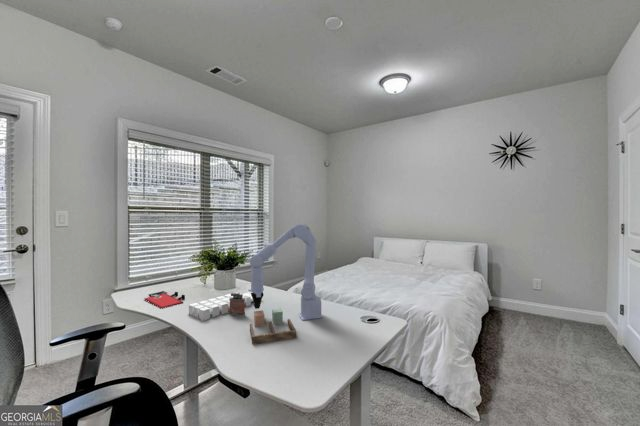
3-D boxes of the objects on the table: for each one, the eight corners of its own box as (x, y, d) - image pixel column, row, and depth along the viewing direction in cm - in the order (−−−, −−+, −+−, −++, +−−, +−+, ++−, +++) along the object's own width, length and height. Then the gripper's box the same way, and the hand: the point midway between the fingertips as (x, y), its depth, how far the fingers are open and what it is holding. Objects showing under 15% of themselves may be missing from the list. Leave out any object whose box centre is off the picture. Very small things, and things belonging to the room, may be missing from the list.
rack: (289, 324, 123) (289, 318, 123) (296, 338, 110) (296, 330, 110) (249, 330, 117) (249, 323, 117) (252, 344, 105) (252, 336, 105)
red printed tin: (246, 313, 136) (246, 293, 136) (242, 316, 133) (242, 295, 133) (231, 311, 139) (231, 291, 138) (227, 314, 135) (227, 293, 135)
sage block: (281, 319, 129) (280, 308, 129) (282, 322, 125) (282, 311, 125) (272, 320, 128) (272, 309, 128) (273, 323, 124) (273, 312, 124)
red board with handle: (166, 291, 174) (139, 298, 162) (166, 287, 173) (139, 293, 162) (190, 302, 155) (161, 310, 143) (190, 297, 155) (161, 305, 143)
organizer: (188, 304, 136) (248, 288, 163) (188, 314, 136) (248, 297, 163) (202, 310, 128) (262, 293, 155) (202, 321, 128) (262, 301, 155)
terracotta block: (262, 320, 128) (262, 310, 128) (264, 325, 123) (264, 315, 123) (253, 321, 127) (253, 311, 127) (255, 326, 121) (255, 316, 121)
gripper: (247, 276, 138) (247, 304, 139) (249, 284, 125) (249, 314, 125) (262, 275, 141) (261, 302, 141) (265, 282, 127) (265, 312, 127)
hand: (257, 308), depth 133 cm, fingers closed
